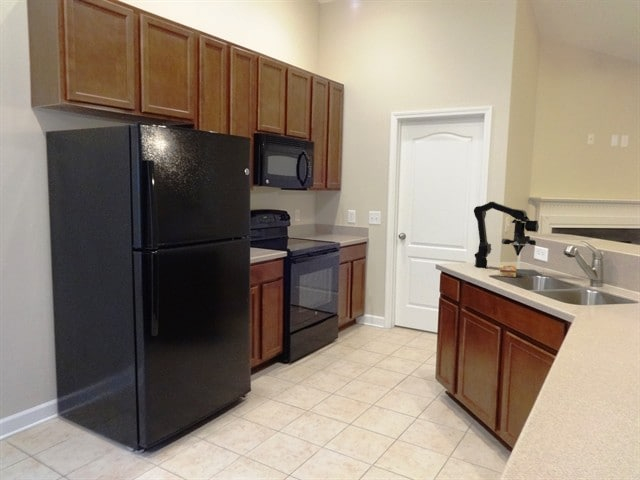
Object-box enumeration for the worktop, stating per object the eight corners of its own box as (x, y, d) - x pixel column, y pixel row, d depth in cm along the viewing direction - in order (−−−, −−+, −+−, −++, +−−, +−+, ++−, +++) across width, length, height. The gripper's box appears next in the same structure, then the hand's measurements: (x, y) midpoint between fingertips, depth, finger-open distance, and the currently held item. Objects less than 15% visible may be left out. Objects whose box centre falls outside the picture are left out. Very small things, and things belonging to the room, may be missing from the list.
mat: (515, 274, 284) (515, 273, 284) (508, 269, 299) (508, 268, 299) (542, 275, 283) (542, 274, 283) (534, 270, 297) (534, 269, 297)
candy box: (500, 271, 292) (499, 276, 278) (500, 264, 291) (499, 269, 277) (515, 272, 288) (515, 277, 274) (515, 265, 288) (516, 270, 274)
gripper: (507, 231, 281) (505, 257, 283) (539, 232, 279) (537, 258, 281) (502, 229, 292) (500, 254, 294) (533, 230, 290) (531, 255, 292)
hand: (517, 255), depth 290 cm, fingers closed
